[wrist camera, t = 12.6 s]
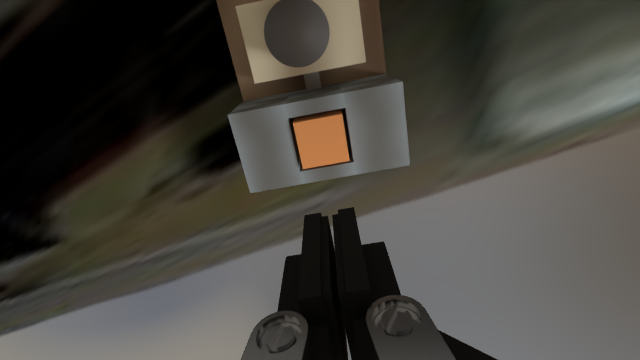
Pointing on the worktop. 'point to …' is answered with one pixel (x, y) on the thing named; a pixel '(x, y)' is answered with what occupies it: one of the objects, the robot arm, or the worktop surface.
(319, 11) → the cream plate with knob
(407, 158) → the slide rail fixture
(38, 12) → the worktop surface
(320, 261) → the robot arm
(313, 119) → the button
